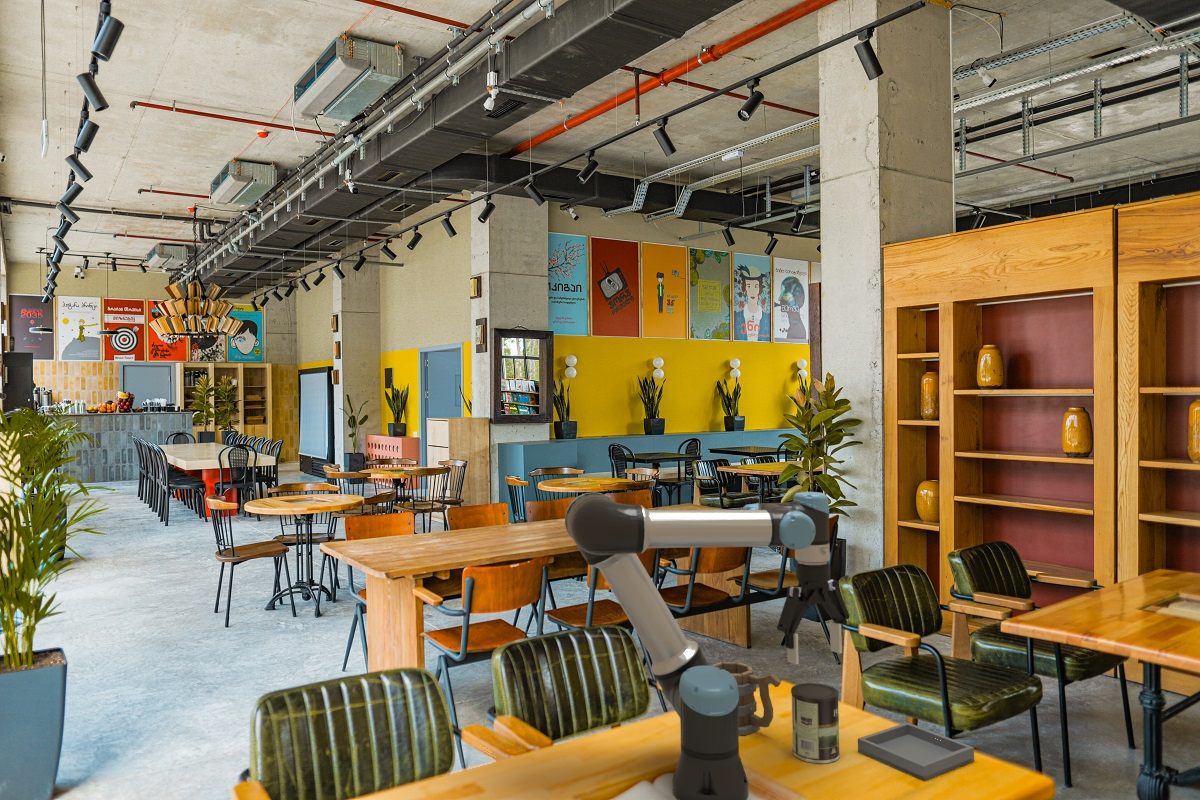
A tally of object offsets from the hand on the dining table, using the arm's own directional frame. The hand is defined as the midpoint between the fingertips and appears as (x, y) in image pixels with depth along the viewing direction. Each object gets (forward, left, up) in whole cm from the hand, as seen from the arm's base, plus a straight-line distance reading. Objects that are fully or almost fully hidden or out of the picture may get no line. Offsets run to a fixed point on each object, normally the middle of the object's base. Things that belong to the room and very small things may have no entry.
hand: (815, 657), depth 178 cm
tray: (+17, -13, -21) cm, 30 cm away
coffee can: (0, 0, -22) cm, 22 cm away
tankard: (-4, +19, -22) cm, 29 cm away
